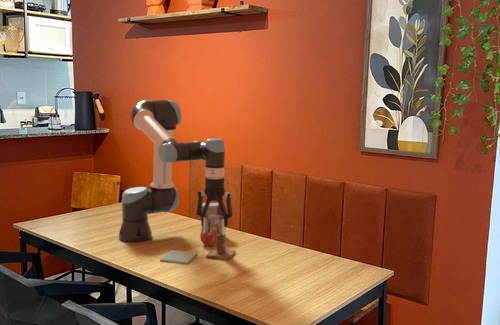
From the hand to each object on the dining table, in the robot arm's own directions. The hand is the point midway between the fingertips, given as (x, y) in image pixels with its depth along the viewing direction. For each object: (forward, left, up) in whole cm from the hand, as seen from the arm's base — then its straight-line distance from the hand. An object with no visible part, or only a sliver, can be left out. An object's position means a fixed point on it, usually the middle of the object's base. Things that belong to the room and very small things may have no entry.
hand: (214, 233), depth 205 cm
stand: (0, +6, -13) cm, 14 cm away
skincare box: (-13, +36, -13) cm, 40 cm away
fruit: (-9, +22, -13) cm, 27 cm away
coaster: (-16, +2, -13) cm, 21 cm away
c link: (0, 0, -1) cm, 1 cm away
